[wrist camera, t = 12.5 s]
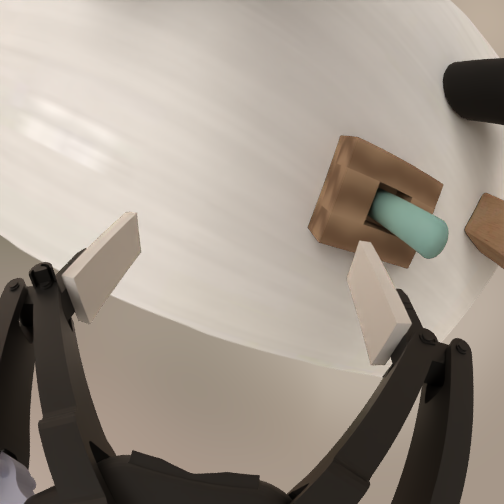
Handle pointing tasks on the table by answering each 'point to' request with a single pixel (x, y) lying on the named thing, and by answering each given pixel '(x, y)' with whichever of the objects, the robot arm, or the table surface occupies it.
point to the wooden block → (488, 228)
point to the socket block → (368, 199)
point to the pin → (410, 223)
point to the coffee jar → (476, 89)
